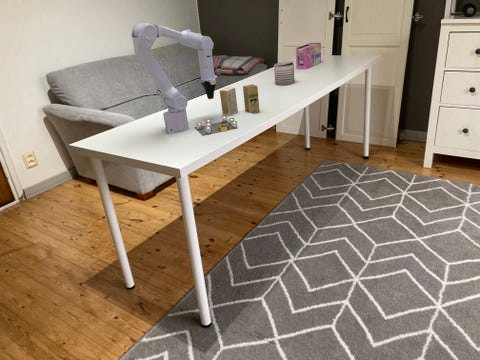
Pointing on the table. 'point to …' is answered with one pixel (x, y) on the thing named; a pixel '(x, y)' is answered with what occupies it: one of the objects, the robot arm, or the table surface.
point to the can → (284, 73)
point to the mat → (213, 128)
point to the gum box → (308, 55)
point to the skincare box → (228, 101)
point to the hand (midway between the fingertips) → (210, 98)
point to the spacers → (209, 124)
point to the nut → (223, 127)
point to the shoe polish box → (251, 99)
